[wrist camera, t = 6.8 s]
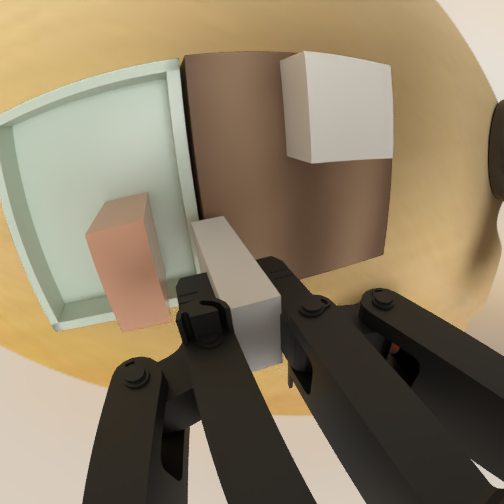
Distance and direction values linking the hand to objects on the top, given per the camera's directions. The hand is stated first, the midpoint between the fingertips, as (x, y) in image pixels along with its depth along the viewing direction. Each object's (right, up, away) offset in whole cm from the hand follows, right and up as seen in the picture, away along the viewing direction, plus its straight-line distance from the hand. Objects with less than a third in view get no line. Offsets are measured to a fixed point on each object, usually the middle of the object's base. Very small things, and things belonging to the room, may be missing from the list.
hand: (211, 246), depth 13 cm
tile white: (+6, +7, 0) cm, 9 cm away
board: (+4, +5, +4) cm, 8 cm away
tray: (-7, +3, +1) cm, 7 cm away
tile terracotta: (-3, 0, 0) cm, 3 cm away
